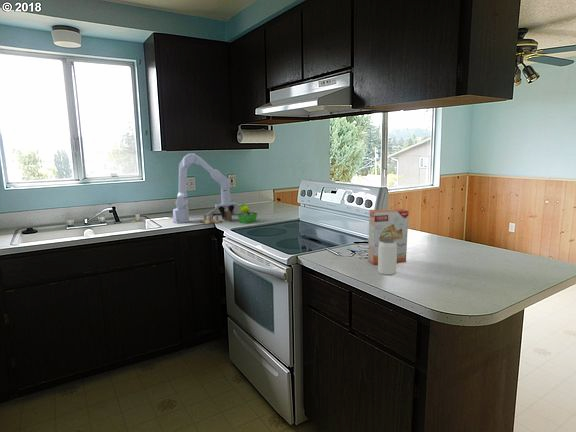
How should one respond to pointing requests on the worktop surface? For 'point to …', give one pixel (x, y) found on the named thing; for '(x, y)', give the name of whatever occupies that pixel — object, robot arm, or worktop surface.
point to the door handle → (217, 209)
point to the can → (387, 256)
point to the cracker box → (388, 231)
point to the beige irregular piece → (211, 220)
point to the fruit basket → (246, 215)
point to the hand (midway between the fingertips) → (226, 217)
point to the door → (227, 215)
